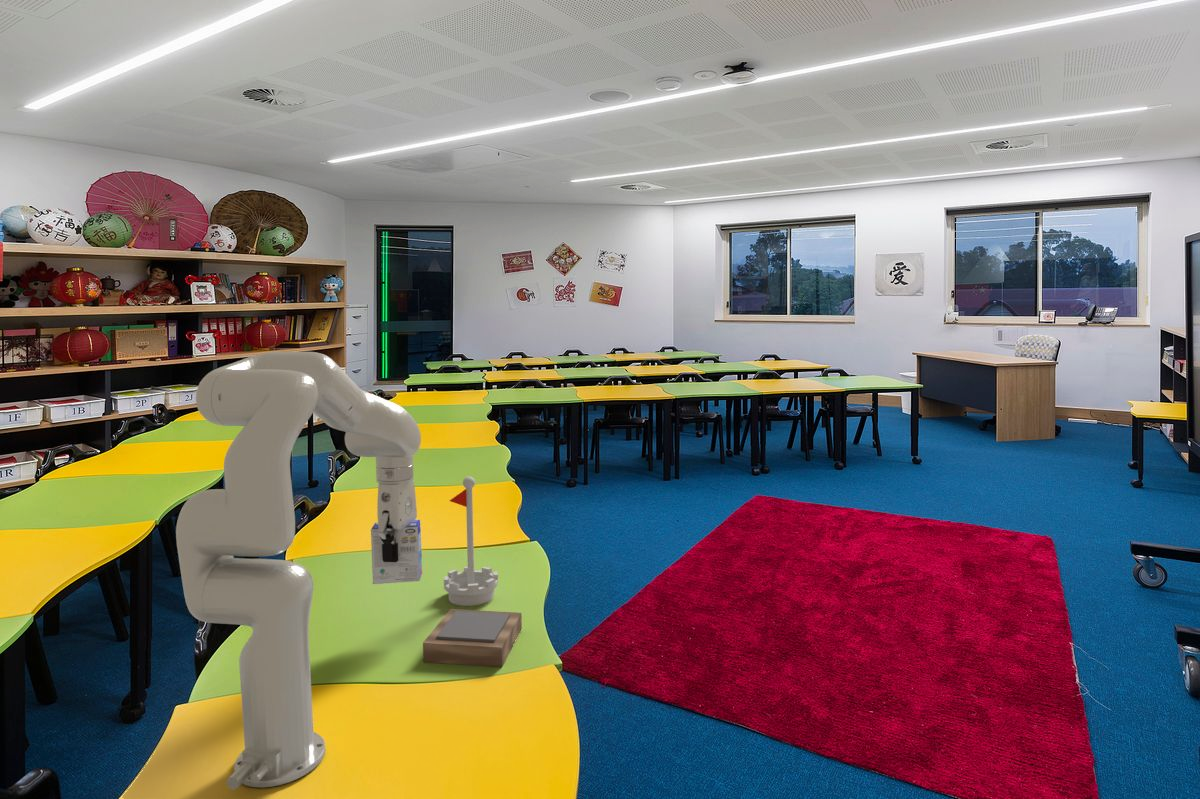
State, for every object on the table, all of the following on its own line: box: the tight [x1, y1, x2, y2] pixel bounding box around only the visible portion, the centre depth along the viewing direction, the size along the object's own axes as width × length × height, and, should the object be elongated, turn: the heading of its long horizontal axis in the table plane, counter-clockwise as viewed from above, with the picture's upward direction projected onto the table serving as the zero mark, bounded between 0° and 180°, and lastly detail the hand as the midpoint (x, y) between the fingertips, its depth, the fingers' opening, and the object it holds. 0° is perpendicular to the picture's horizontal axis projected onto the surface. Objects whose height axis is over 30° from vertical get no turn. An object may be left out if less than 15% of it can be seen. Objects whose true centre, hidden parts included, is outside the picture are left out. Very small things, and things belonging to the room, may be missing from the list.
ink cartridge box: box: [370, 519, 423, 585], centre depth 145 cm, size 10×6×14 cm, turn 101°
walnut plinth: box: [422, 608, 523, 668], centre depth 141 cm, size 16×16×4 cm
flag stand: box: [443, 476, 499, 607], centre depth 165 cm, size 13×13×30 cm
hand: (397, 555), depth 145 cm, fingers closed on ink cartridge box, 6 cm apart
